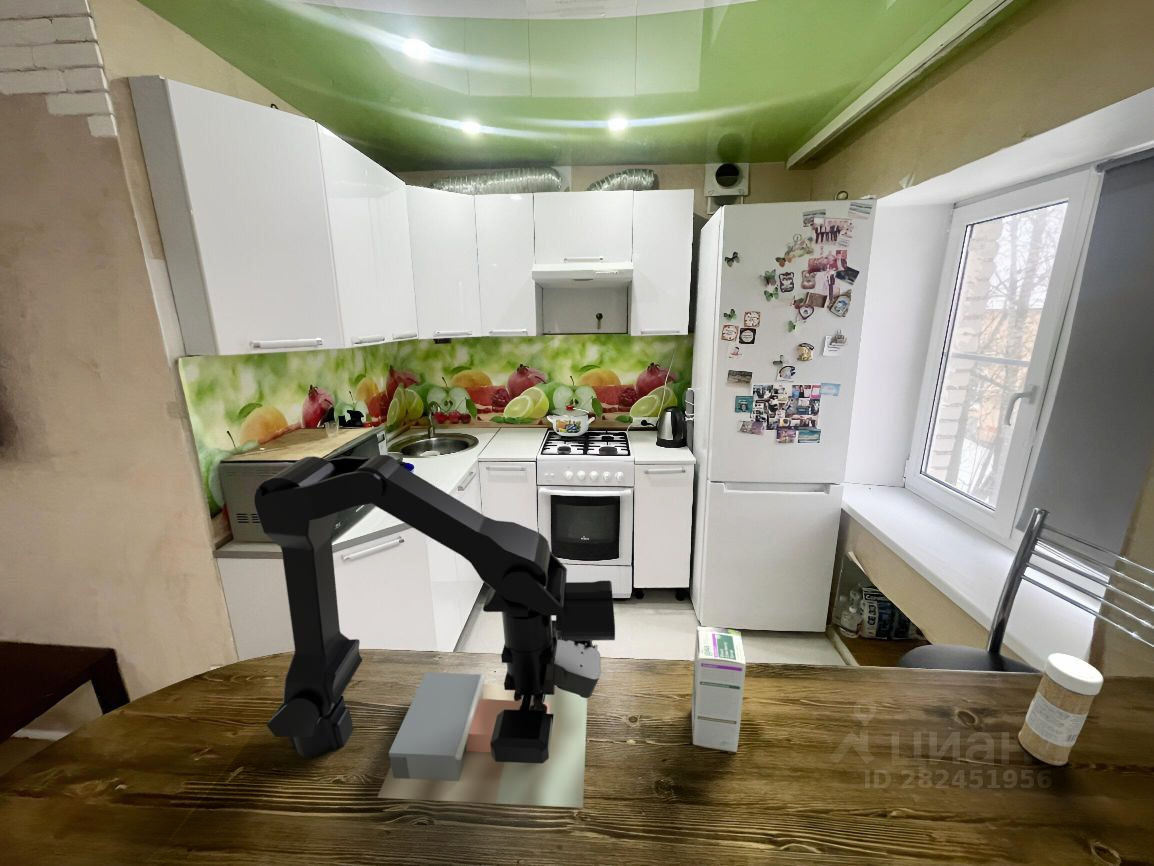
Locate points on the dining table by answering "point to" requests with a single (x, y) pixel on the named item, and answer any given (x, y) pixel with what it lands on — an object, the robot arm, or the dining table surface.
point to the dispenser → (437, 727)
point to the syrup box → (717, 688)
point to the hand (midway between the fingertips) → (535, 731)
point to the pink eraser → (488, 722)
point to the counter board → (515, 765)
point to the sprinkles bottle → (1059, 708)
